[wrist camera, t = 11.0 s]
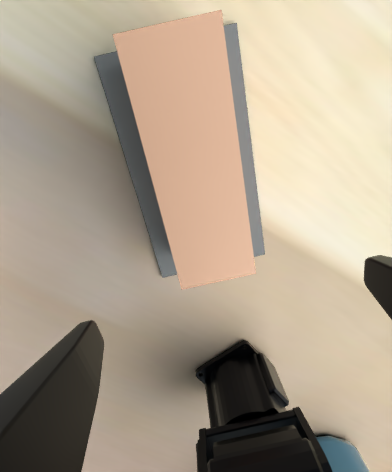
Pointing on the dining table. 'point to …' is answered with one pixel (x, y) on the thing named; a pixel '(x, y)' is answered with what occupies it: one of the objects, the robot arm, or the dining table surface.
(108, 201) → the dining table surface
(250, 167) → the mat
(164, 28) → the terracotta block
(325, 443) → the blue bottle
